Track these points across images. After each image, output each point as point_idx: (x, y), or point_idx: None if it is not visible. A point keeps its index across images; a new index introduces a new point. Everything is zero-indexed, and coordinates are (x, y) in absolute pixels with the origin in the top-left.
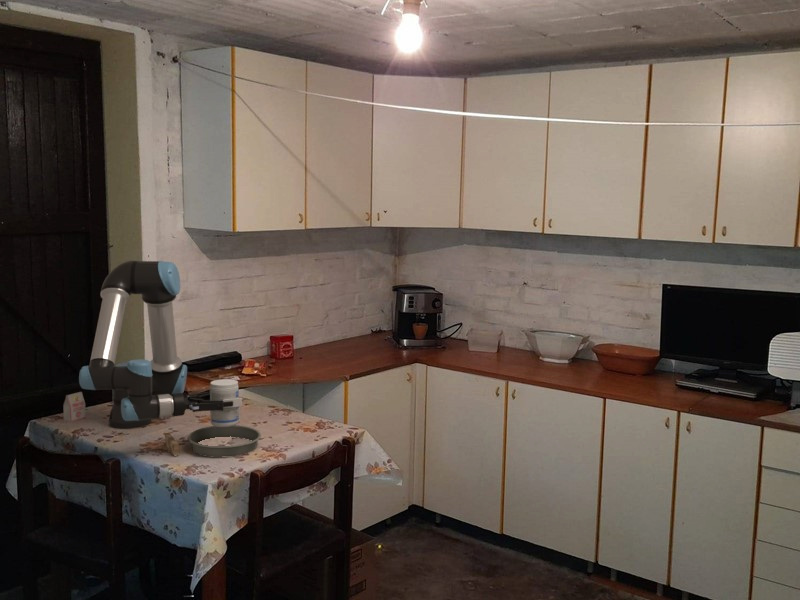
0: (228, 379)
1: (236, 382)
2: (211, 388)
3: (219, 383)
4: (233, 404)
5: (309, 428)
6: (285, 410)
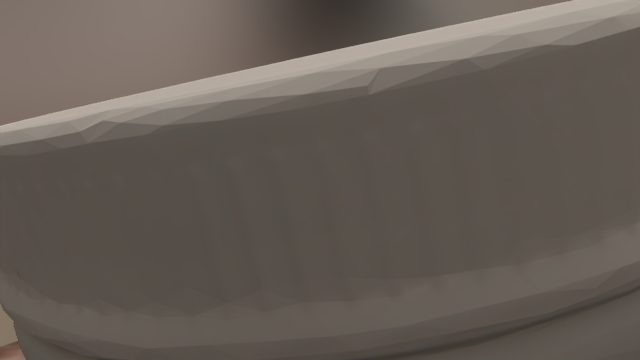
0: (153, 90)
1: (414, 33)
2: (622, 291)
3: (485, 22)
4: None
5: None
6: (3, 352)
